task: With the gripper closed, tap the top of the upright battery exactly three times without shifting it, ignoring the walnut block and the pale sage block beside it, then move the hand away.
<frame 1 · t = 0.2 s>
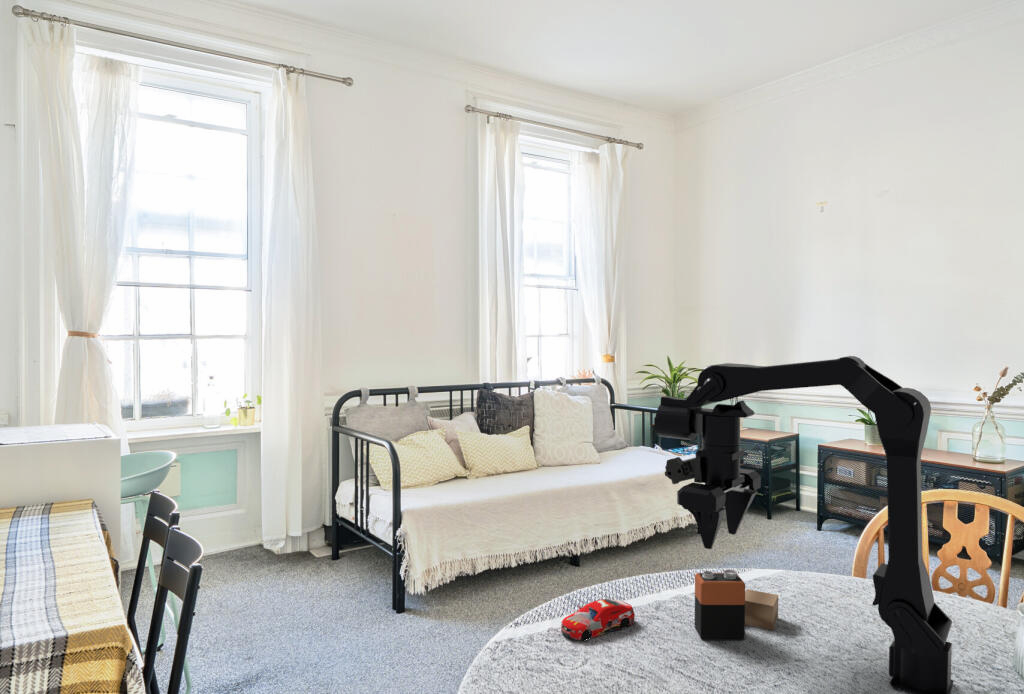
hand: (720, 541, 108), 14 cm above the table, tool pointing down, fingers open, 9 cm apart
battery: (719, 636, 107), on the table
race car: (597, 630, 109), on the table
walnut block: (759, 621, 112), on the table
sage block: (721, 613, 115), on the table
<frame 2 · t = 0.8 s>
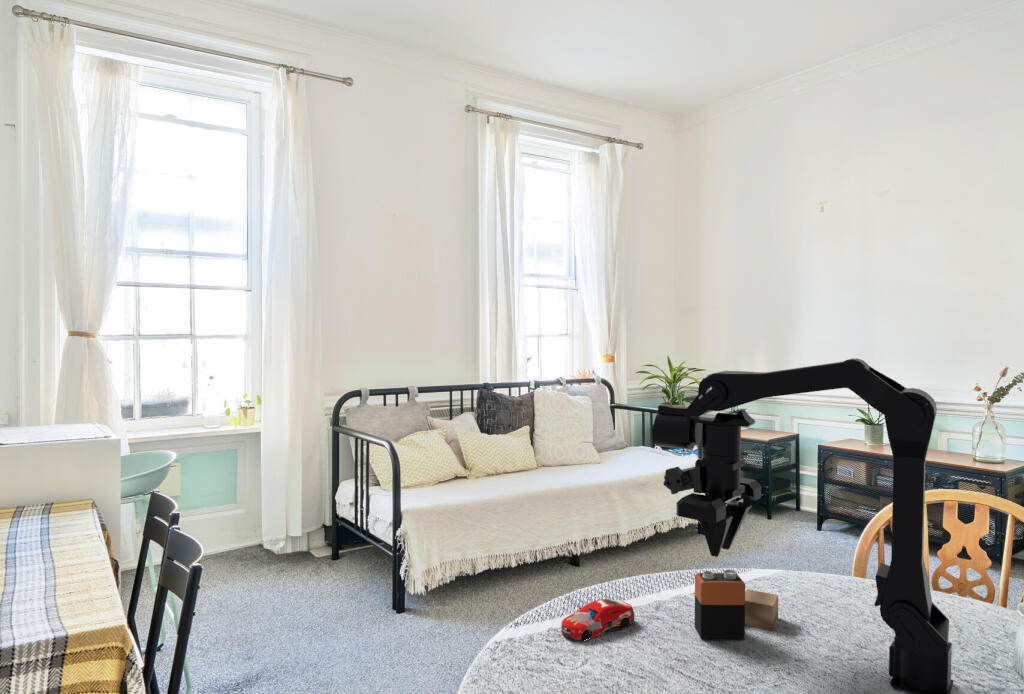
hand: (720, 552, 106), 13 cm above the table, tool pointing down, fingers open, 4 cm apart
nothing on the table moved.
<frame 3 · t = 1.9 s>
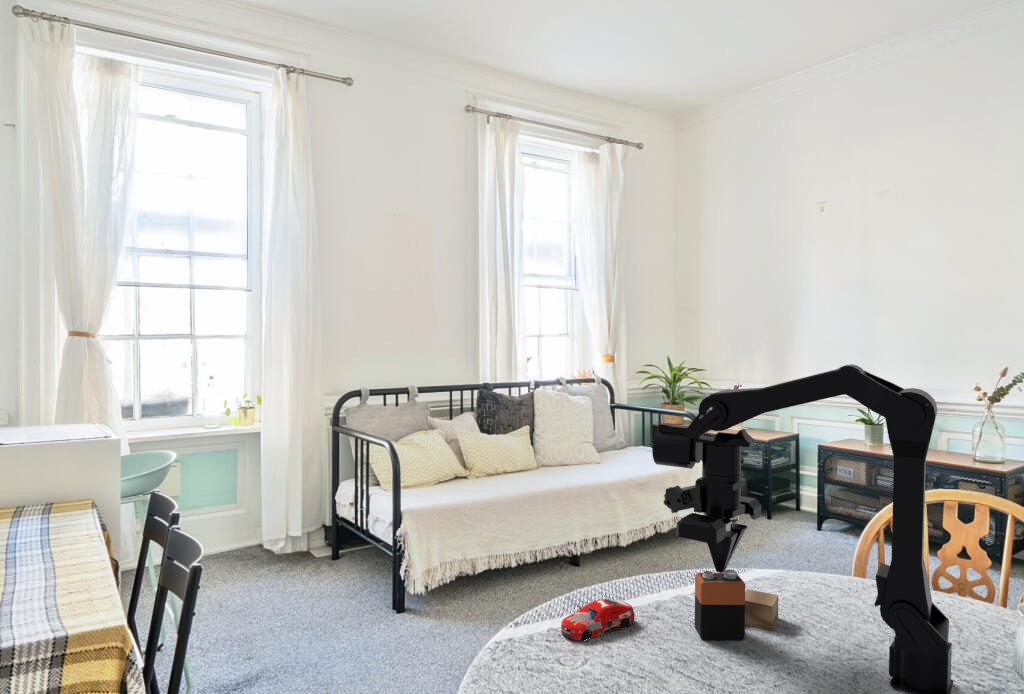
hand: (720, 571, 106), 10 cm above the table, tool pointing down, fingers closed, pressing on battery
battery: (719, 635, 107), on the table, touching gripper
everything else where it was.
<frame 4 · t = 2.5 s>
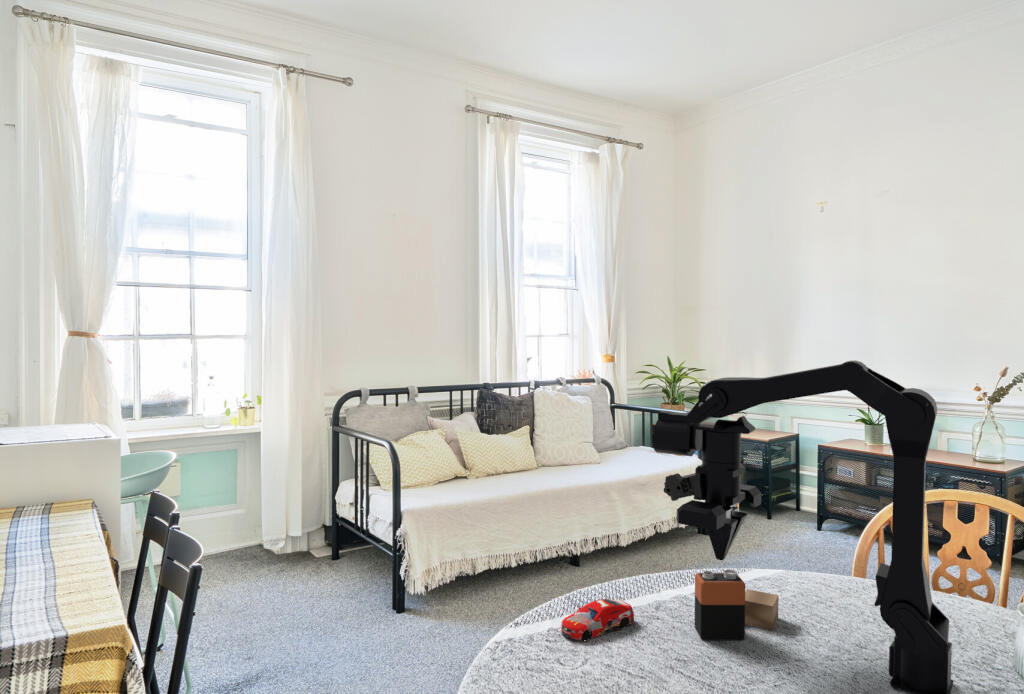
hand: (720, 559, 106), 12 cm above the table, tool pointing down, fingers closed
battery: (719, 636, 107), on the table
everything else where it was.
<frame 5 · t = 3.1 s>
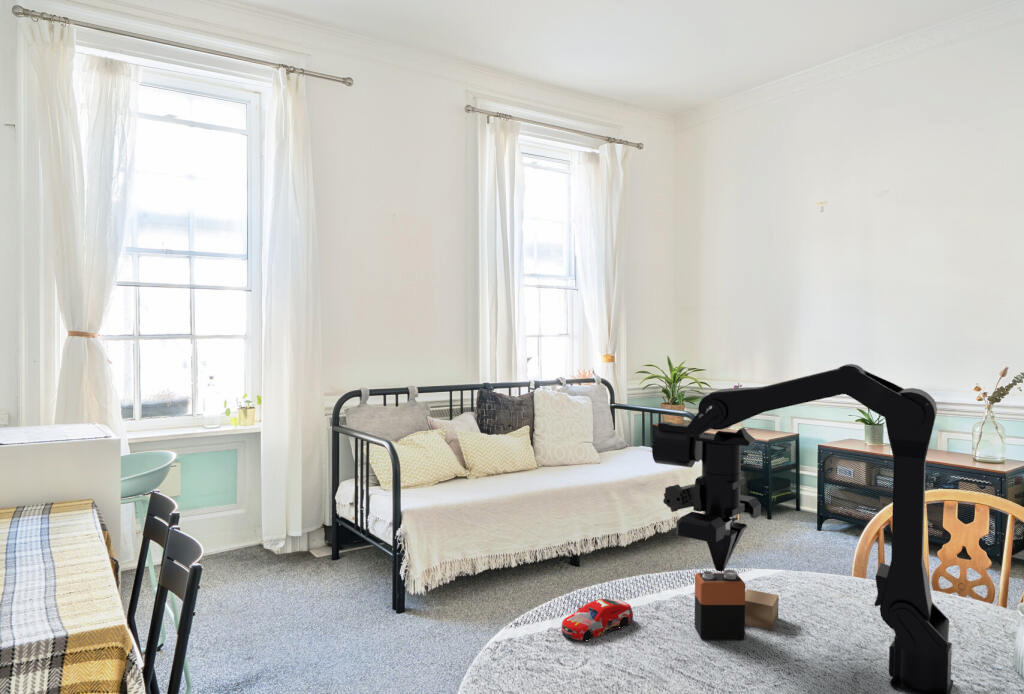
hand: (719, 570, 106), 10 cm above the table, tool pointing down, fingers closed
nothing on the table moved.
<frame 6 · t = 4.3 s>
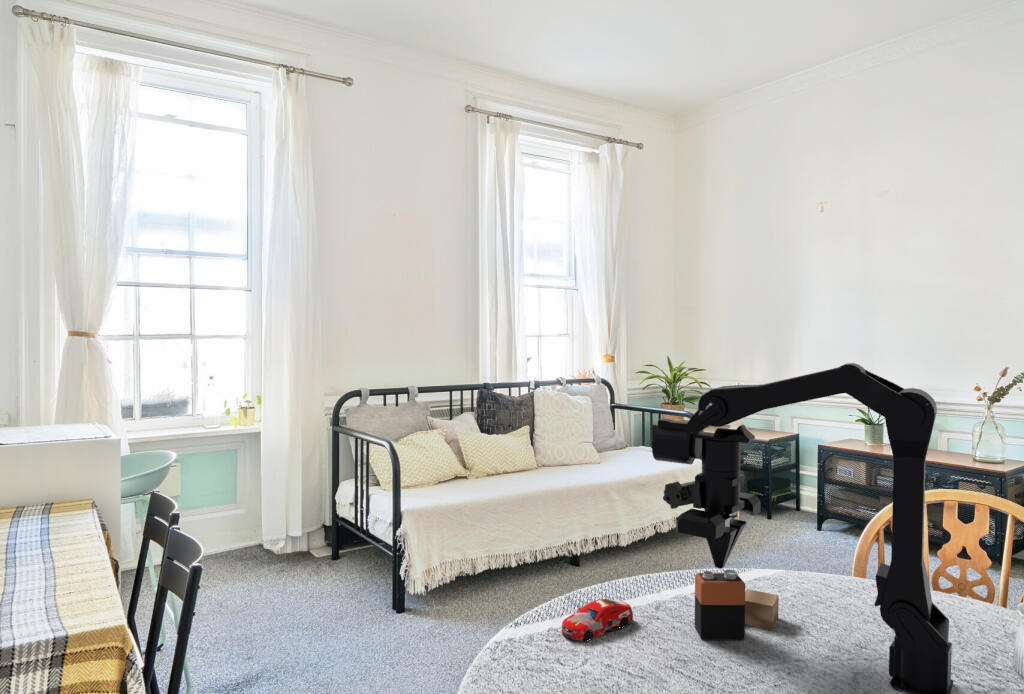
hand: (719, 567, 106), 11 cm above the table, tool pointing down, fingers closed
nothing on the table moved.
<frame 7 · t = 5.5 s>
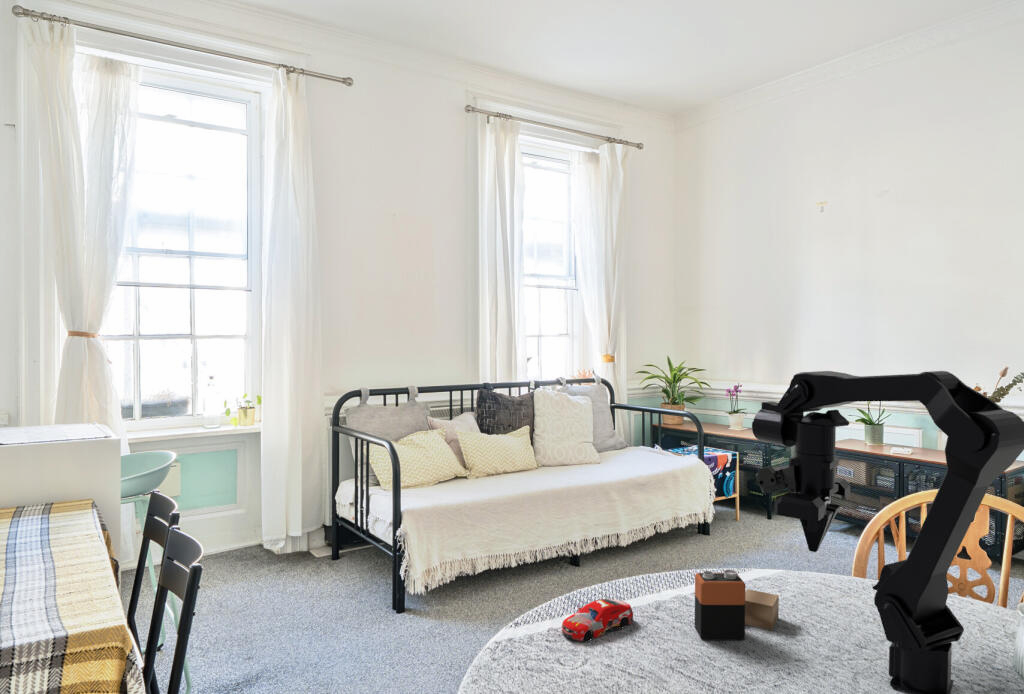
hand: (813, 551, 107), 13 cm above the table, tool pointing down, fingers closed
nothing on the table moved.
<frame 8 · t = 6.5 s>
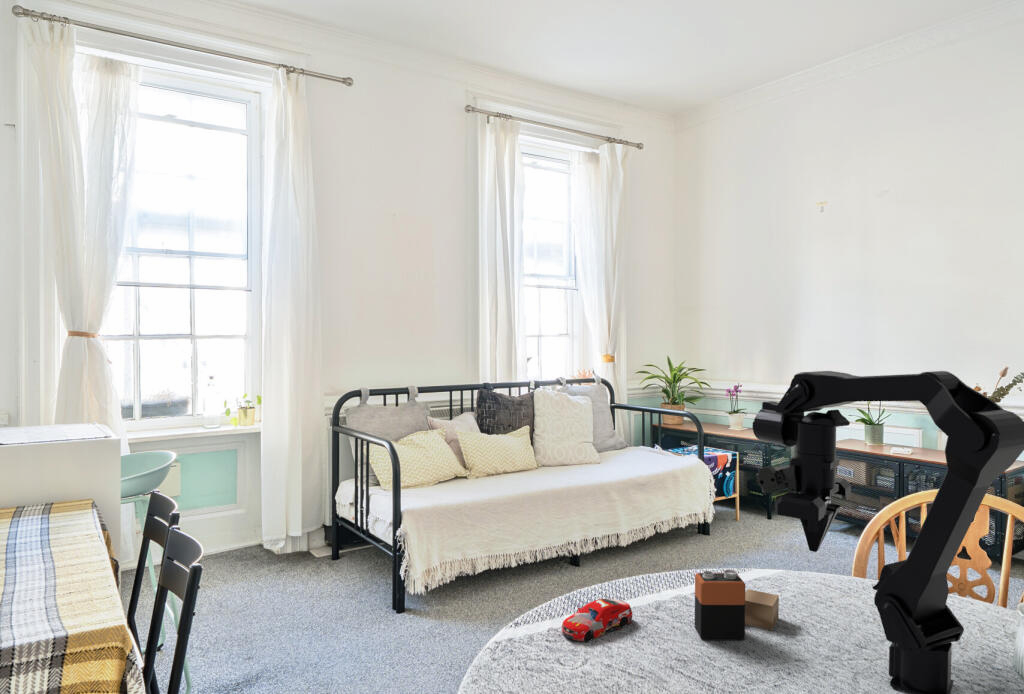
hand: (813, 550, 107), 13 cm above the table, tool pointing down, fingers closed
nothing on the table moved.
at the end: battery moved 0.2 cm from its start; battery tilted 0°; walnut block moved 0.2 cm from its start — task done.
